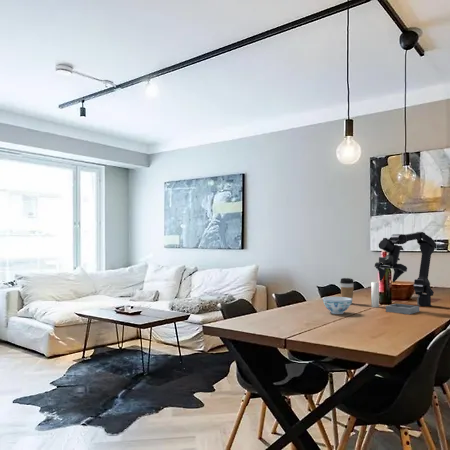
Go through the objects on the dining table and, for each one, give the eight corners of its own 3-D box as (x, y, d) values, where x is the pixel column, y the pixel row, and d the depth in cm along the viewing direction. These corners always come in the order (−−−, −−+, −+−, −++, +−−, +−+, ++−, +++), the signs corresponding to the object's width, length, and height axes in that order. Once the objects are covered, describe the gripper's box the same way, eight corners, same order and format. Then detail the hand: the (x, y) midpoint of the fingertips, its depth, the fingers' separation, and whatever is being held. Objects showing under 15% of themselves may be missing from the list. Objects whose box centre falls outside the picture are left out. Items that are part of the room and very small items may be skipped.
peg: (377, 306, 261) (377, 282, 262) (379, 307, 257) (379, 282, 258) (370, 306, 262) (370, 282, 262) (372, 307, 258) (372, 282, 258)
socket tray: (395, 308, 252) (395, 303, 252) (419, 311, 243) (419, 306, 243) (385, 311, 242) (385, 306, 243) (409, 314, 233) (409, 308, 233)
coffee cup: (352, 302, 277) (352, 278, 277) (355, 304, 269) (355, 279, 269) (339, 302, 278) (338, 278, 278) (341, 304, 269) (341, 279, 270)
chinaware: (355, 315, 230) (355, 300, 230) (326, 315, 230) (326, 300, 230) (347, 310, 245) (347, 296, 245) (319, 310, 245) (319, 296, 245)
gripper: (371, 249, 259) (364, 275, 256) (397, 250, 242) (390, 278, 239) (384, 256, 263) (377, 281, 260) (410, 257, 247) (403, 284, 244)
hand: (386, 281), depth 251 cm, fingers open, 9 cm apart
